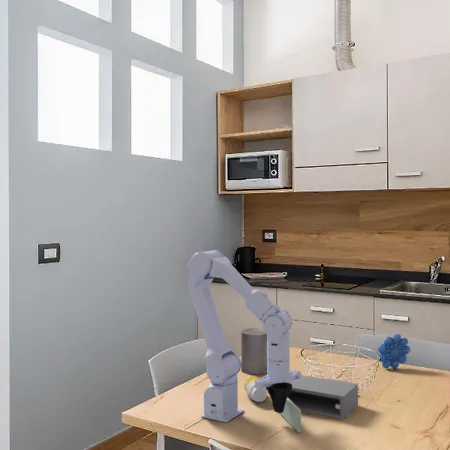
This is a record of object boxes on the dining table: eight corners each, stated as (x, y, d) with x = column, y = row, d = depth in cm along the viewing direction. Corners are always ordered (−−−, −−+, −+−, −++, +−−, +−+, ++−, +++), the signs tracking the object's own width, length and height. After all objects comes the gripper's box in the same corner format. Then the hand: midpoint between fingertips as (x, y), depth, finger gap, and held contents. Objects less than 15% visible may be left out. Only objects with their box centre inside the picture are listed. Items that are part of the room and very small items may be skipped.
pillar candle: (237, 367, 188) (237, 325, 187) (263, 365, 191) (263, 323, 190) (247, 376, 179) (246, 331, 178) (274, 373, 181) (273, 329, 181)
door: (272, 405, 149) (272, 386, 149) (275, 405, 149) (275, 386, 149) (297, 432, 130) (297, 410, 130) (301, 431, 131) (301, 409, 131)
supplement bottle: (264, 385, 161) (273, 395, 152) (251, 397, 160) (258, 408, 151) (253, 371, 160) (261, 381, 151) (240, 383, 160) (246, 394, 150)
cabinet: (343, 419, 139) (343, 396, 139) (274, 405, 150) (274, 384, 150) (358, 405, 149) (357, 383, 149) (292, 393, 160) (292, 373, 160)
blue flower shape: (405, 364, 190) (405, 331, 189) (413, 370, 183) (413, 335, 183) (373, 365, 189) (372, 331, 189) (379, 371, 182) (379, 336, 182)
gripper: (268, 367, 129) (268, 423, 130) (309, 357, 138) (309, 409, 139) (249, 361, 135) (249, 415, 135) (289, 351, 144) (290, 402, 144)
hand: (278, 411), depth 137 cm, fingers closed
